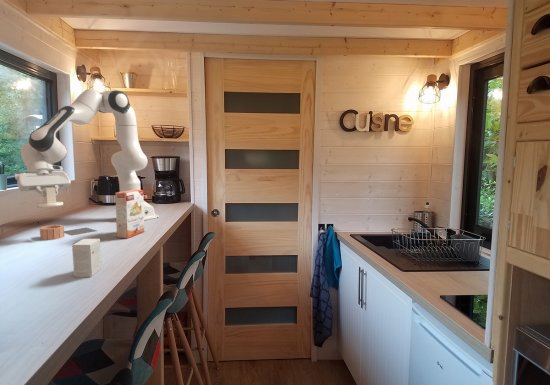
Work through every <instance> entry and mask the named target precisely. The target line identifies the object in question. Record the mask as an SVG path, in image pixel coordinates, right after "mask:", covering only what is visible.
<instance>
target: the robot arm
mask: <svg viewBox="0 0 550 385" xmlns="http://www.w3.org/2000/svg"><path fill="white" fill-rule="evenodd" d="M98 112H99V113H102V114H106V113H107V114H113V115H112V116H114V120H115V121H114V122H115V124H114V125H115V134H116V135H115V136H116V138H115V139H116V141H117V142H118V143H119V144H118V145H120V147H121V150H120V151H117V152H115V153H113V154H112V156H111V158H110V162H111V165H112V167H114V169H115V172H116V174H117V178H118V184H119V186H118V187H119V192H123V191H129V190H142V189H141V188H142V187H141V180H140V178H139V177H138V176H137V173H136V172H139V171H142V170H144V169H145V168H146V167H147V165H148V157H147V155H146V154H144V152H143V150H142V148H141V145H140V141H139V135H138V123H137V122H138V121H137V116H136V112H135V110H134V108H133V107H132V106H131V104H130V100H129V98H128V95H127V94H126V93H125V92H124V91H123V90H122V91H121V90H117V89H114V90H107V91H103V92H98V91H97V90H96V89H93V88H87V89H85V90H83V91H82V92H81V93H80V94H79V95H78V96H77V97H76V98H75V99H74V101H73V102H72V103H71V104H69V105H65V106H62V107H61V108H60V109H58V110H57V111H56V112H55V113H54V114H52V115H51V117H49V118H48V120H47V121H45V122H44V123H43V124H42V125H41V126H39V127H38V128H36V129H35V130H33V131H32V132H31V133H30V135H29V137H28V142H26V143H24V144H22V146H21V148H20V155H21V158H22V160H23V164H24V165H25V166H26V171H25V172H24V171H23V172H17V173H14V177H13V178H14V179H15V181H17V187H18V189H19V191H21V192H25V191H26V192H27V191H29V192H30V191H35V192H36V193H38V194H39V195H40V196H41V197H43V198H44V196H46V193H45V191H43V188H49V187H53V188H55V192H56V196H59V189H67V188H69V187H70V185H71V182H72V181H71V179H70V177H69V175H68V174H67V172H65V171H64V167H63V166H61V165H55V164H57V163H59V162H62V161H63V160H65V158H66V157H67V154H68V149H67V147H65V145H64V144H63V143H62V142H61V141H60V140H59V139H58V138H57V132H59V131H60V129H62V128H63V127H64V125H65V124H67V123H68V122H71V123H73V124H76V125H84V126H85V125H88V124H90V122H91V121H92V120H93V119H94V118H95V116H96V115H97V114H98ZM143 195H144V199H148V195H147V194H143ZM157 217H158V218H159V217H160V215H159V214H157V213H155V208H154V206H153V205H151V204H149V203H148V202H147V201H145V200H144V221H147V220H153V219H156V218H157ZM158 218H157V219H158Z"/></svg>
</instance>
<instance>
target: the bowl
mask: <svg viewBox="0 0 550 385" xmlns="http://www.w3.org/2000/svg"><path fill="white" fill-rule="evenodd" d="M64 231H65V225H63V224H51V225H44V226H41V227H39V236H40V240H41V241H53V240H60V239H63V238H64V237H65V236H66V235H65V234H66V233H64Z"/></svg>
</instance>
